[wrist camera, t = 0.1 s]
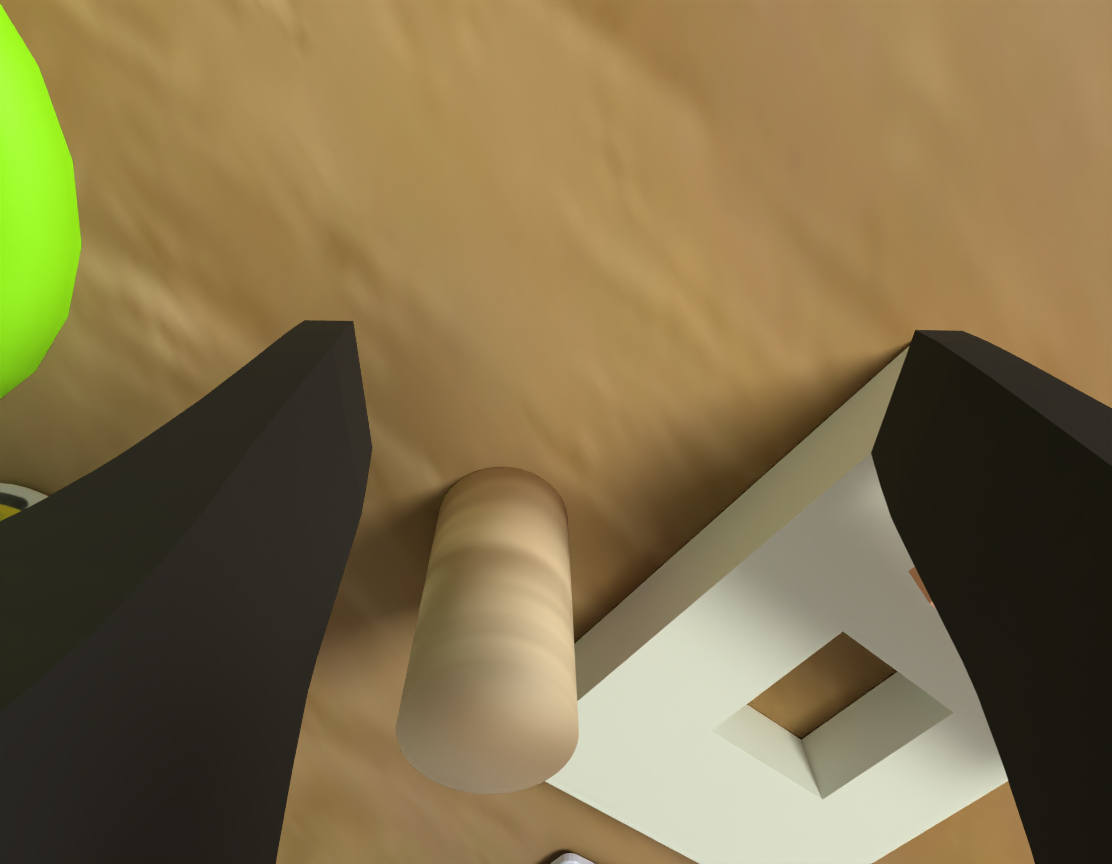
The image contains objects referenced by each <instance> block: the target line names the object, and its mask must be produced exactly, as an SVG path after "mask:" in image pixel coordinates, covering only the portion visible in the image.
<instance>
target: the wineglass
mask: <svg viewBox="0 0 1112 864" xmlns="http://www.w3.org/2000/svg"><path fill="white" fill-rule="evenodd" d="M81 246H82V245H81V236H80V226H79V217H78V207H77V197H76V188H75V178H74V169H73V161H72V158H71V155H70V152H69V150H68V147H67V144H66V141H65V139H64V136H63V133H62V130H61V127H60V125H59V122H58V119H57V116H56V114H55V111H54V108H53V105H52V102H51V100H50V97H49V94H48V91H47V89H46V86H45V83H44V80H43V77H42V75H41V72H40V69H39V66H38V65H37V63H36V61H35V60H34V58H33V56H32V55H31V53H30V52H29V50H28V48H27V47H26V45H25V43H24V42H23V40H22V38H21V37H20V35H19V34H18V32H17V30H16V29H15V27H14V25H13V24H12V22H11V20H10V19H9V17H8V16H7V14H6V12H5V11H4V9H3V7H2V6H1V4H0V399H1V398H2V397H4V396H5V395H6V394H7V393H9V392H10V391H11V390H12V389H14V388H15V387H16V386H17V385H19V384H20V383H21V382H22V381H24V380H25V379H26V378H27V377H29V376H30V375H31V374H32V373H34V372H35V371H36V369H37V368H38V366H39V364H40V363H41V361H42V359H43V358H44V356H45V354H46V353H47V351H48V349H49V347H50V346H51V344H52V342H53V341H54V339H55V337H56V336H57V334H58V332H59V331H60V329H61V327H62V326H63V324H64V322H65V320H66V319H67V317H68V314H69V308H70V303H71V298H72V293H73V288H74V282H75V277H76V272H77V267H78V262H79V257H80V251H81Z"/></svg>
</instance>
